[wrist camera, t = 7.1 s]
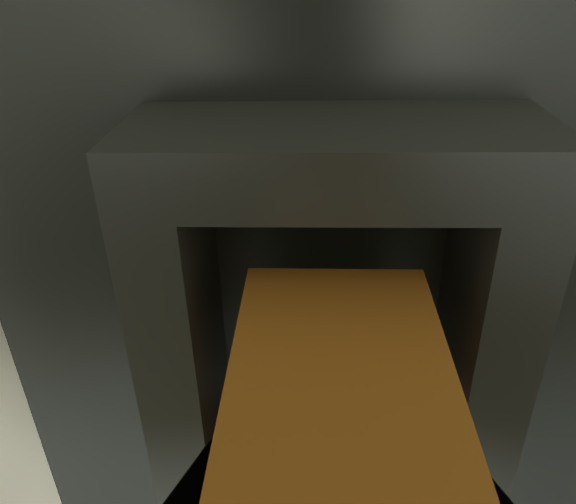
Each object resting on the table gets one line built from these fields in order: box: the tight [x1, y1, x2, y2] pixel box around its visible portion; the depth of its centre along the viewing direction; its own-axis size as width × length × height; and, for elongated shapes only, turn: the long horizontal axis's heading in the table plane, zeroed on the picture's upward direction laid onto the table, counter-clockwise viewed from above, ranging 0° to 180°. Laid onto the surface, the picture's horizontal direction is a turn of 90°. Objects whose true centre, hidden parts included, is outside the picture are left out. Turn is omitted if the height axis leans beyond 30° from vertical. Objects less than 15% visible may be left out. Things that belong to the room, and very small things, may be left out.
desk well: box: [0, 0, 576, 504], centre depth 12 cm, size 16×16×4 cm
